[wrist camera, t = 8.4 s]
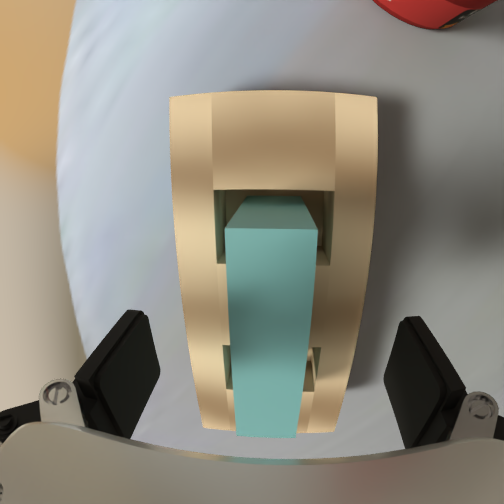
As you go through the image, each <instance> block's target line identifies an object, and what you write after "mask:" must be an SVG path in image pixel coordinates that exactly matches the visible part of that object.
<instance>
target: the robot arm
mask: <svg viewBox="0 0 504 504" xmlns="http://www.w3.org/2000/svg"><path fill="white" fill-rule="evenodd" d="M159 376H160V366H159V362H158V358H157V354H156V350H155V346H154V342H153V337H152V333H151V328H150V324H149V319H148V316H147V315H144V313H143V311H138V310H127V311H126V312H125V313H124V314H123V316H122V317H121V318H120V319H119V320H118V322H117V323H116V324H115V325H114V327H113V328H112V329H111V330H110V331H109V333H108V334H107V335H106V336H105V338H104V339H103V340H102V341H101V343H100V344H99V345H98V346H97V348H96V349H95V350H94V351H93V353H92V354H91V355H90V357H89V358H88V359H87V360H86V362H85V363H84V364H83V366H82V367H81V368H80V370H79V371H78V372H77V373H76V375H75V380H74V381H73V382H71V381H69V380H66V379H56V380H53V381H50V382H48V383H47V384H45V385H44V387H43V388H42V389H41V391H40V394H39V400H38V401H34V402H32V403H28V404H24V405H21V406H18V407H14V408H10V409H7V410H4V411H2V412H0V504H504V417H502V416H499V415H498V410H499V408H498V405H497V402H496V401H495V399H494V398H493V397H491V396H490V395H489V394H487V393H484V392H480V391H478V392H472V393H469V394H467V392H466V390H465V389H466V387H465V385H464V384H463V382H462V380H461V379H460V377H459V375H458V374H457V372H456V370H455V369H454V367H453V365H452V364H451V362H450V361H449V359H448V357H447V356H446V354H445V353H444V351H443V349H442V348H441V346H440V345H439V343H438V342H437V340H436V339H435V337H434V336H433V334H432V333H431V331H430V330H429V328H428V327H427V325H426V324H425V322H424V321H423V319H422V318H421V317H420V316H411V317H405V318H404V320H403V321H401V322H400V323H399V326H398V330H397V334H396V337H395V341H394V344H393V348H392V351H391V355H390V358H389V361H388V364H387V367H386V370H385V373H384V384H385V387H386V390H387V393H388V396H389V399H390V402H391V405H392V408H393V411H394V414H395V417H396V420H397V423H398V427H399V430H400V433H401V436H402V440H403V443H404V446H405V449H403V450H397V451H390V452H384V453H377V454H369V455H361V456H351V457H339V458H322V459H261V458H244V457H232V456H222V455H213V454H205V453H198V452H191V451H185V450H179V449H173V448H168V447H163V446H158V445H153V444H149V443H144V442H140V441H135V440H131V439H130V438H131V436H132V434H133V432H134V429H135V427H136V425H137V423H138V421H139V419H140V417H141V414H142V412H143V410H144V408H145V406H146V404H147V402H148V399H149V397H150V395H151V393H152V391H153V389H154V387H155V385H156V383H157V381H158V378H159Z"/></svg>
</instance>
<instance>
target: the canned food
mask: <svg viewBox="0 0 504 504" xmlns="http://www.w3.org/2000/svg"><path fill="white" fill-rule="evenodd" d="M373 1H374V2H375V3H376V4H377V5H378V6H380V7H381V8H382V9H384V10H385V11H386V12H388V13H389V14H391V15H393V16H394V17H396V18H398V19H399V20H402V21H404V22H406V23H408V24H411V25H414V26H417V27H420V28H426V29H443V28H448V27H451V26H453V25H455V24H456V23H458V22H460V21H461V20H463V19H465V18H467V17H468V16H470V15H472V14H473V13H475V12H477V11H479V10H481V9H482V8H484V7H486V6H488V5H490V4H491V3H493V2H495V1H497V0H373Z"/></svg>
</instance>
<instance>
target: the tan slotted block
mask: <svg viewBox="0 0 504 504" xmlns="http://www.w3.org/2000/svg"><path fill="white" fill-rule="evenodd" d="M170 158H171V181H172V199H173V214H174V227H175V239H176V250H177V260H178V270H179V279H180V288H181V296H182V304H183V312H184V319H185V326H186V333H187V340H188V346H189V353H190V359H191V365H192V371H193V377H194V382H195V388H196V393H197V398H198V404H199V409H200V414H201V418H202V423H203V428H211V429H221V430H232V431H236V422H235V409H234V396H233V381H232V366H231V351H230V334H229V316H228V296H227V275H226V251H225V227H226V226H227V224H228V223H229V221H230V220H231V218H232V217H233V215H234V214H235V213H236V211H237V210H238V208H239V207H240V205H241V204H242V203H243V201H244V200H245V198H246V197H247V196H301V198H302V200H303V201H304V203H305V205H306V207H307V209H308V211H309V213H310V215H311V217H312V219H313V221H314V223H315V225H316V227H317V229H318V237H317V254H316V269H315V282H314V294H313V306H312V316H311V326H310V336H309V345H308V354H307V362H306V370H305V378H304V385H303V392H302V399H301V406H300V413H299V419H298V425H297V432H296V433H317V432H334V430H335V426H336V423H337V420H338V416H339V413H340V409H341V406H342V402H343V398H344V394H345V390H346V387H347V383H348V379H349V374H350V370H351V366H352V361H353V357H354V352H355V348H356V343H357V338H358V333H359V328H360V322H361V317H362V311H363V305H364V299H365V293H366V286H367V279H368V272H369V264H370V256H371V248H372V238H373V228H374V216H375V203H376V186H377V158H378V114H377V97H372V96H364V95H355V94H345V93H333V92H318V91H293V90H255V91H230V92H215V93H203V94H192V95H183V96H175V97H170Z"/></svg>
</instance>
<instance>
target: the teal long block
mask: <svg viewBox="0 0 504 504" xmlns="http://www.w3.org/2000/svg"><path fill="white" fill-rule="evenodd" d="M317 237H318V229H317V227H316V225H315V223H314V221H313V219H312V217H311V215H310V213H309V211H308V209H307V207H306V205H305V203H304V201H303V200H302V198H301V196H247V197H246V198H245V200H244V201H243V203H242V204H241V205H240V207H239V208H238V210H237V211H236V213H235V214H234V215H233V217H232V218H231V220H230V221H229V223H228V224H227V226H226V227H225V251H226V275H227V296H228V316H229V334H230V351H231V366H232V381H233V396H234V409H235V422H236V434H237V436H248V437H270V438H295V437H296V432H297V425H298V419H299V413H300V406H301V399H302V392H303V385H304V378H305V370H306V362H307V354H308V345H309V336H310V326H311V316H312V306H313V294H314V282H315V269H316V254H317Z"/></svg>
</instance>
